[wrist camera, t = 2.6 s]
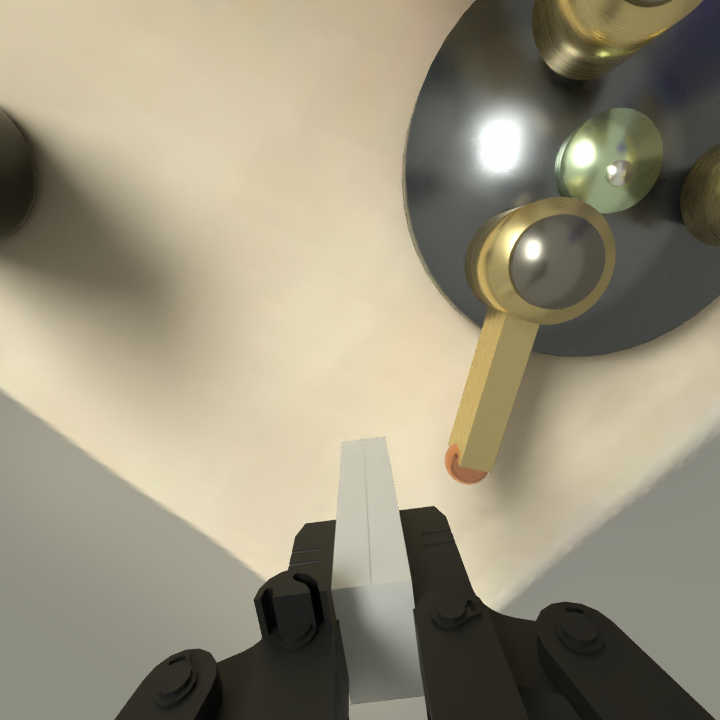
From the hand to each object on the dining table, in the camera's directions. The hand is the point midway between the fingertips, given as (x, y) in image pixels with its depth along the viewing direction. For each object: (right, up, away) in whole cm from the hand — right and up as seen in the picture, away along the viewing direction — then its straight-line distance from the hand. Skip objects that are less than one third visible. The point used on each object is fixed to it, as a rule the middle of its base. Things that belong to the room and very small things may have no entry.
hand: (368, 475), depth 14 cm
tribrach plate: (+10, +13, +5) cm, 17 cm away
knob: (+6, +5, +5) cm, 9 cm away
